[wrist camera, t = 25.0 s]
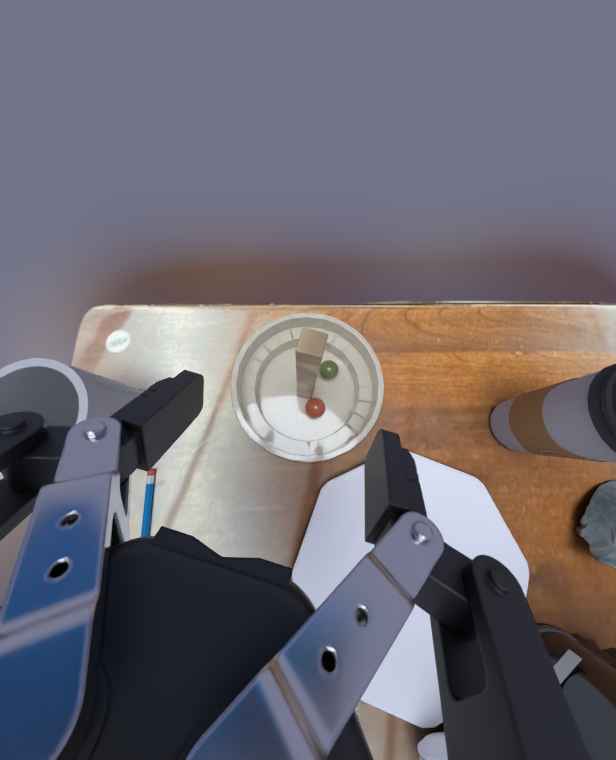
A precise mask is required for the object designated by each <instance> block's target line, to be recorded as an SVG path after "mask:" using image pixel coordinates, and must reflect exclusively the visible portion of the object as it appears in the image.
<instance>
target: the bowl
mask: <svg viewBox="0 0 616 760" xmlns="http://www.w3.org/2000/svg"><path fill="white" fill-rule="evenodd" d="M303 327H305V328H309V329H313V330H316V331H320V332H323V333H327V334H328V339H327V343H326V346H325V350H324V354H323V358H322V361H321V363H322V362H324V361H326V360H331V361H334V362H335V363H336V364H337V365H338V368H339V371H338V374H337V376H336V377H335V378H334V379H331V380H326V379H324V378H322V377H321V375H320V373H318V377H317V380H316V384H315V388H314V391H313V395H312V398H319V399H321V400H322V401H323V402H324V403H325V408H326V409H325V412H324V414H323V415H322V416H321V417H319V418H312V417H310V416H308V414H307V413H306V411H305V405H306V403H307V401H308V400H309V399H305V398H302V397H299V396H297V380H296V355H295V349H296V346H297V343H298V340H299V337H300V334H301V331H302V328H303ZM230 383H231V396H232V404H233V407H234V410H235V412H236V415H237V418H238V420H239V422H240V424H241V425H242V427H243V428H244V429H245V431H246V432H247V433H248V435H249V436H250V437H251V439H252V440H254V441H255V442H256V443H257V444H259V445H260V446H261V447H263V448H264V449H265V450H267V451H268V452H270V453H272V454H275V455H277V456H279V457H282V458H284V459H287V460H292V461H301V462H316V461H322V460H328V459H332V458H334V457H336V456H339V455H341V454H343V453H345V452H347V451H349V450H351V449H352V448H353V447H354V446H355V445H357V444H358V443H359V442H360V441H361V440H362V439H364V438H365V437H366V436H367V434H368V433H369V431H370V430H371V428H372V427H373V425H374V424H375V422H376V420H377V418H378V415H379V412H380V409H381V406H382V403H383V392H384V379H383V375H382V371H381V366H380V363H379V360H378V358H377V356H376V355H375V353H374V351H373V349H372V347H371V345H370V344H369V343H368V342H367V341H366V340H365V339H364V337H363V336H362V335H361V334H360V333H359V332H358V331H357V330H355V329H354V328H352V327H351V326H349V325H348V324H346V323H345V322H343V321H341V320H339V319H336V318H333V317H331V316H328V315H325V314H316V313H308V312H307V313H306V312H305V313H297V314H289V315H286V316H283V317H280V318H278V319H275V320H272V321H270V322H269V323H267V324H266V325H264V326H263V327H262V328H260V329H259V330H257V331H256V332H254V334H253V335H252V336H251V337H250V338H249V339H248V341H247V342H246V343H245V344H244V345H243V347H242V348H241V350H240V352H239V355H238V357H237V359H236V361H235V363H234V366H233V372H232V377H231V382H230Z"/></svg>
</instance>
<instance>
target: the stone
mask: <svg viewBox="0 0 616 760" xmlns="http://www.w3.org/2000/svg"><path fill="white" fill-rule="evenodd" d="M580 523H581V526H579V527H577V528H576V531H577V532H578V533H579V535H580V536H581V537H583V538H584V539H585V540H586V541H587V542H588V543H589V545H590V552H591V554H592V556H593V557H594V558H595V559H596V560H597V561H599V562H602V563H604V564H606V565H608V566H610V567H612V568H615V569H616V480H615V481H609V482H607V483H604V484H602V485H600V486H599V487H598V488H597V490H596V491H595V492H594V494H593V496H592V497H591V500H590V503H589V505H588V506H587V508H586V511H585V514H584V515H583V517H582V518H581V520H580Z"/></svg>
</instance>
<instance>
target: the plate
mask: <svg viewBox="0 0 616 760" xmlns="http://www.w3.org/2000/svg"><path fill="white" fill-rule="evenodd" d="M409 452H410V451H409ZM410 454H411V455H412V457H413V458H414V460H415V463H416V468H417V473H418V477H419V482H420V486H421V490H422V495H423V499H424V504H425V508H426V513H427V517H428V518H429V519H430V520H431V521H432V522H433V523H434V524H435V525H436V526H437V528H438V529H439V531H440V533H441V534H442V537H443V540H444V542H445V543H447V544H448V545H449V546H451V547H452V548H454V549H456V550H457V551H459V552H460V553H462V554H464V555H465V556H467V557H468V558H470V559H472V560H473V559H474V558H475V557H476V556H478V555H487V556H490V557H493V558H495V559H496V560H498V561H499V562H501V563H502V564H503V565H504V566H506V567H507V568H508V569H509V570H510V571H511V573H512V574H513V575H514V576H515V578H516V579H517V580H518V582H519V584H520V585H521V587H522V590H523V592H524V594H525V597H526V596H527V589H528V582H529V576H530V574H529V569H528V564H527V561H526V559H525V557H524V556H523V554H522V552H521V550H520V549H519V547H518V545H517V543H516V541H515V540H514V538H513V536H512V534H511V532H510V531H509V529H508V527H507V525H506V523H505V522H504V520H503V518H502V516H501V514H500V513H499V511H498V509H497V507H496V506H495V504H494V502H493V500H492V498H491V497H490V495H489V493H488V491H487V489H486V488H485V486H484V484H483V483H482V482H480V481H479V480H478V479H477V478H476V477H474V476H471V475H469V474H466V473H464V472H461V471H458V470H456V469H453V468H451V467H448V466H446V465H443V464H441V463H438V462H435V461H433V460H430V459H428V458H425V457H423V456H420V455H418V454H415V453H412V452H410ZM364 466H365V464H363V465H361V466H359V467H357V468H355V469H353V470H351V471H348V472H346V473H344V474H342V475H340V476H338V477H336V478H334V479H332V480H330V481H328V482H327V483H326V484H325V485H324V486H323V487H322V489H321V491H320V493H319V496H318V499H317V502H316V505H315V508H314V511H313V514H312V516H311V519H310V522H309V525H308V528H307V531H306V534H305V536H304V539H303V542H302V545H301V548H300V551H299V554H298V556H297V559H296V562H295V565H294V568H293V571H292V581H293V582H294V583H296V584H297V585H298V586H299V587H300V588H301V589H302V590H303V591H304V592H305V594H306V595H307V596H308V597H309V599H310V600H311V602H312V603H313V605H314V606H315V608H316V610H317V608H318V607H319V606H320V605H321V604H322V603H323V602H324V601H325V599H326V598H327V597H328V596H329V595H330V594H331V593H332V592H333V590H334V589H335V588H336V587H337V586H338V585H339V584H340V583H341V581H342V580H343V579H344V578H345V577H346V576H347V575H348V574H349V573H350V571H351V570H352V569H353V568H354V567H355V566H356V565H357V564H358V562H359V561H360V560H361V559H362V558H363V557H364V556H365V555H366V554H367V553H368V552H370V551H371V550H372V549H373V548H374V544H371V543H368V542H365V484H364ZM360 700H361V701H363V702H366V703H368V704H370V705H372V706H374V707H377V708H379V709H381V710H383V711H385V712H388V713H390V714H392V715H394V716H396V717H399V718H401V719H403V720H405V721H407V722H410V723H412V724H414V725H416V726H418V727H421V728H434V727H436V726H437V725H439V724H441V723H442V722H443V717H442V709H441V701H440V693H439V686H438V678H437V670H436V662H435V654H434V646H433V638H432V630H431V622H430V615H429V614H428V613H427V612H425V611H424V610H422V609H421V608H420V607H418V606H417V605H416V604H415V605H414V608H413V610H412V612H411V614H410V616H409V617H408V619H407V621H406V623H405V624H404V626H403V628H402V629H401V631H400V633H399V634H398V636H397V638H396V640H395V641H394V643H393V645H392V646H391V648H390V650H389V652H388V653H387V655H386V657H385V658H384V660H383V662H382V663H381V665H380V667H379V669H378V670H377V672H376V674H375V675H374V677H373V679H372V681H371V682H370V684H369V686H368V687H367V689H366V691H365V692H364V694H363V696H362V698H361V699H360Z"/></svg>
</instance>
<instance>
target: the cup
mask: <svg viewBox="0 0 616 760" xmlns="http://www.w3.org/2000/svg"><path fill="white" fill-rule="evenodd" d="M143 392H144V391H142V390H139V389H136V388H133V387H130V386H128V385H125V384H122V383H119V382H116V381H113V380H110V379H108V378H105V377H102V376H99V375H96V374H93V373H90V372H88V371H85V370H82V369H79V368H76V367H73V366H70V365H67V364H64V363H62V362H59V361H55V360H51V359H44V358H41V359H40V358H35V359H34V358H33V359H26V360H22V361H19V362H15V363H13V364H10V365H8V366H6V367H4V368H2V369H1V370H0V416H2V415H6V414H10V413H15V412H26V411H27V412H35V413H38V414H40V415H41V416H42V417H43V418H44V421H45V424H46V425H47V426H69V427H73V426H74V425H76V424H77V423H79V422H81V421H83V420H86V419H89V418H93V417H110V416H111V415H113V414H114V413H115V412H117V411H118V410H119V409H121V408H122V407H124V406H125V405H126V404H128V403H129V402H130V401H132V400H133V399H134V398H136V397H137V396H140V394H141V393H143ZM3 478H4V477H3V475H2V474H1V472H0V479H3Z"/></svg>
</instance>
